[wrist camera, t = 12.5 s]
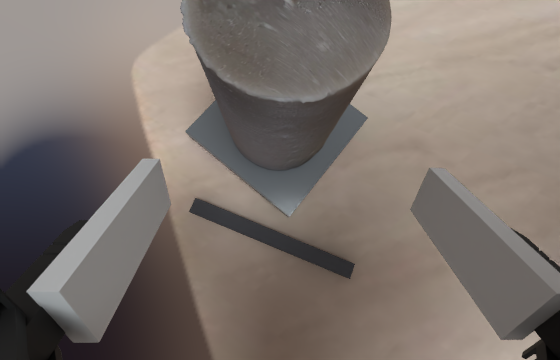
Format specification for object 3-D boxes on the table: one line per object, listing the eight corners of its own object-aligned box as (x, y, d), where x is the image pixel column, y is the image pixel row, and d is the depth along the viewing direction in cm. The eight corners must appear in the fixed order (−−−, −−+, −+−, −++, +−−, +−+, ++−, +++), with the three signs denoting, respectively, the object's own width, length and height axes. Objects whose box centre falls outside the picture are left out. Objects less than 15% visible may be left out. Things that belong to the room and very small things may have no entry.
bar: (199, 199, 24) (195, 197, 23) (349, 262, 24) (354, 264, 23) (193, 212, 24) (189, 211, 23) (345, 275, 24) (349, 279, 22)
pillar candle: (306, 70, 26) (354, -137, 11) (341, 154, 24) (451, 42, 10) (216, 96, 25) (140, -93, 10) (247, 186, 23) (208, 116, 9)
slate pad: (270, 51, 27) (270, 43, 26) (363, 122, 27) (368, 117, 25) (189, 135, 25) (185, 131, 24) (288, 217, 24) (289, 216, 23)
